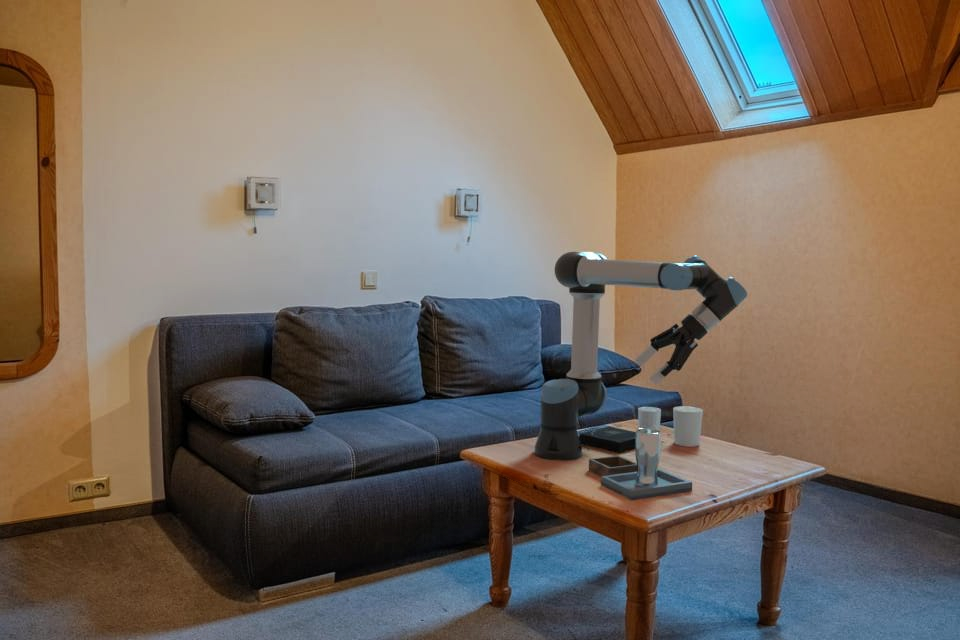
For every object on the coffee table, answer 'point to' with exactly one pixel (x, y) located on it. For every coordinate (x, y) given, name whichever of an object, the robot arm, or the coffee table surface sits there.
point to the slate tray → (630, 490)
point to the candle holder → (687, 425)
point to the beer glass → (647, 456)
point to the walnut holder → (611, 465)
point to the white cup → (649, 417)
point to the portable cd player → (609, 439)
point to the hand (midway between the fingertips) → (644, 372)
